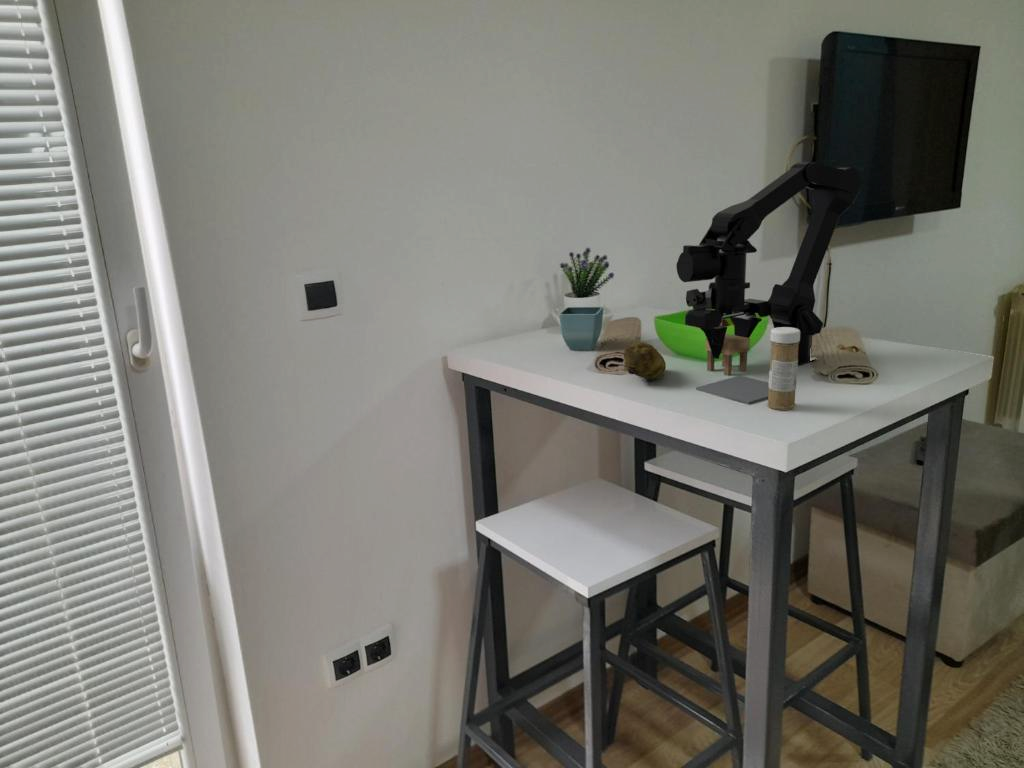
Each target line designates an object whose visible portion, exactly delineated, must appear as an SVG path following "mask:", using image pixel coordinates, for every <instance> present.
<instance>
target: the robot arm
mask: <svg viewBox="0 0 1024 768" xmlns="http://www.w3.org/2000/svg"><path fill="white" fill-rule="evenodd" d="M862 186H863V178H862V176H861V174H860V172H859V170H858V169H856V168H855V167H854V168H853V167H834V166H833V167H832V166H828V165H823V164H819V163H817V162H814V161H806V162H804V161H803V162H801V161H800V162H796V163H794V164H793V165H791V167H790V168H789V169H788V170H787V171H785V172H784V173H783V174H781V175H780V176H779V177H777V178H776V179H774V180H773V181H772V182H770V183H769V184H768V185H766V186H765V187H763V189H761V190H759V191H758V192H757V193H755V194H753V196H751V197H750V198H748V199H747V200H745V201H742V202H739V203H737V204H734V205H730V206H728V207H727V208H724V209H723V210H720V211H718V212H717V213H716V214H714V215H713V217H712V220H711V224H710V227H709V228H708V230H707V232H705V234H704V236H703V238H702V239H701V240H700V242H699V244H698V245H692V244H688V245H687V244H686V245H683V248H682V252H681V253H680V255H679V256H678V259H677V262H676V273H677V276H678V278H679V279H680V281H681V282H682V283H690V282H691V283H693V282H700V281H711V280H714V281H712V282H709V284H708V290H706V291H700V290H699V288H695V289H694V288H693V289H690V290H689V289H688V290H686V293H685V301H686V303H685V304H686V305H687V307H689V308H690V307H692V309H691V310H688V311H687V312H686V313H685V314H684V317H685V318H684V325H685V326H688V327H689V326H690V327H696V328H698V329H700V330H701V331H702V332H703V333H704V336H705V339H706V338H707V340H708V343H709V346H710V349H711V352H712V355H713V358H715V360H718V359H720V357H721V355H722V354H721V351H722V347H723V343H724V339H725V335H726V334H727V330H728V326H725V325H723V320H725V319H730V321H731V322H732V324H733V328H734V329H733V330H734V334H733V335H736V336H741V337H746V338H750V337H751V335H752V334H753V333H754V331H755V329H756V327H757V326H758V325H759V323H761V322H762V319H763V318H765V317H769V318H770V319H771V322H772V325H773V329H774V328H778V327H791V328H796V329H799V330H800V341H799V344H798V366H799V365H804V364H807V363H809V362H808V361H810V348H811V347H812V346H813V344H812V343H813V336H815V335H818V334H820V333H821V331H822V328H823V326H824V323H823V321H822V320H821V319H820V318H819V317H818V315H817V314H816V313H815V312H814V309H815V303H816V296H815V290H814V285H815V282H816V279H817V277H818V274H819V271H820V270H821V266H822V264H823V261H824V258H825V256H826V253H827V251H828V247H829V245H830V243H831V241H832V237H833V236H834V235H833V234H834V232H835V230H836V227H837V224H838V222H839V219H840V218H841V216H842V215H843V214H844V212H846V211H847V210H848V209H849V208H850V207H851V206H852V205H853V204H854V202H855V201H856V199H857V197H858V194H859V193H860V191H861V189H862ZM806 188H807V189H810V190H812V194H811V198H812V203H813V211H812V215H811V218H810V220H809V223H808V225H807V229H806V231H805V234H804V236H803V239H802V242H801V244H800V246H799V249H798V252H797V255H796V257H795V260H794V262H793V266H792V269H791V271H790V273H789V276H788V278H787V279H786V280H785V281H784V282H783V283H782V284H779V283H778V284H777V283H775V284H774V285H773V286H772V291H771V294H770V296H769V299H768V300H761V299H755V298H747V299H745V298H746V289H750V288H751V282H750V281H749V282H746V279H747V278H746V275H747V274H746V273H747V272H746V271H747V254H750V253H751V254H753V253H754V254H755V253H757V251H758V250H757V248H756V247H755V246H754V245H752V244H751V242H750V241H749V239H751V237H752V236H753V235H754V234H755V233H756V232H757V231H758V230H759V229H760V227H761V225H762V223H763V221H764V219H765V218H766V217H768V216H769V215H770V214H772V213H773V212H774V211H776V210H777V209H778V208H780V207H781V206H782V205H784V204H785V203H786V202H788V201H789V200H791V199H792V198H793V197H795V196H796V195H798V194H799V193H800V192H801V191H803V190H804V189H806ZM757 315H758V317H757ZM811 349H812V348H811ZM737 354H739V355H740V353H737ZM806 362H807V363H806ZM803 363H804V364H803Z"/></svg>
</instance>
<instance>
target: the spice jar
mask: <svg viewBox="0 0 1024 768" xmlns="http://www.w3.org/2000/svg"><path fill="white" fill-rule="evenodd" d="M769 338H770V361H769V362H770V363H769V372H768V383H769V395H768V399H767V403H766V405H767V407H768V408H769V409H772V410H778V411H790V410H793V409H795V408H796V390H797V383H798V381H797V379H798V367H799V365H798V344H799V341H800V330H799V329H796V328H791V327H778V328H774V327H773V328H772V329H771V330H770V337H769Z"/></svg>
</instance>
